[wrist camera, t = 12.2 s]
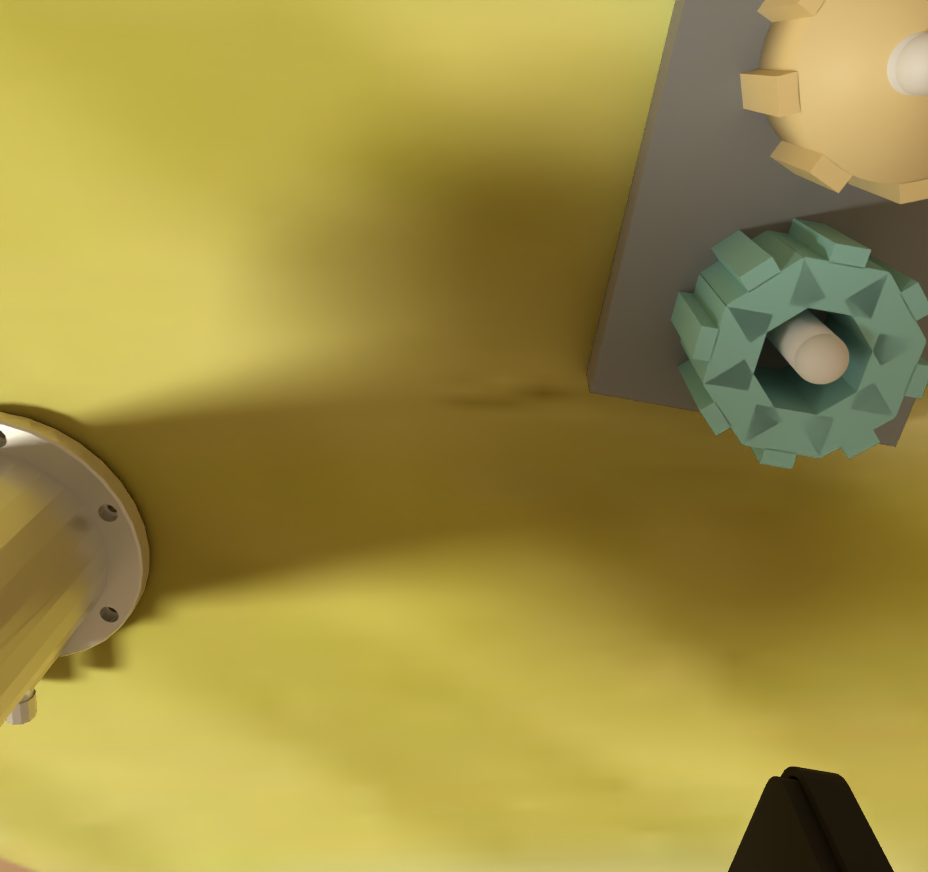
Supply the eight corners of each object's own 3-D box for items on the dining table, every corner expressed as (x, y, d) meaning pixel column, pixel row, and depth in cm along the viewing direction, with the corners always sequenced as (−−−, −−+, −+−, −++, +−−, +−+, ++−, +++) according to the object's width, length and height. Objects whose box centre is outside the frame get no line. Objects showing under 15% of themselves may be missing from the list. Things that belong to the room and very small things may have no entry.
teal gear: (840, 432, 33) (885, 485, 29) (649, 399, 33) (666, 447, 29) (914, 239, 30) (975, 268, 26) (703, 202, 30) (731, 224, 26)
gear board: (876, 426, 35) (967, 521, 28) (586, 374, 35) (602, 457, 27) (1065, -46, 28) (1252, -81, 21) (702, -112, 28) (764, -171, 20)
